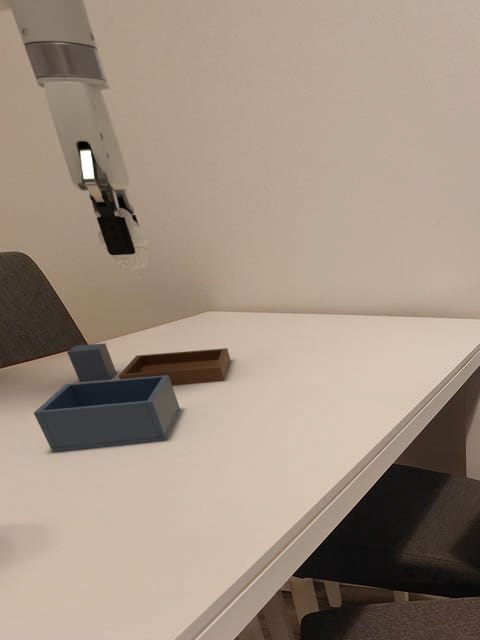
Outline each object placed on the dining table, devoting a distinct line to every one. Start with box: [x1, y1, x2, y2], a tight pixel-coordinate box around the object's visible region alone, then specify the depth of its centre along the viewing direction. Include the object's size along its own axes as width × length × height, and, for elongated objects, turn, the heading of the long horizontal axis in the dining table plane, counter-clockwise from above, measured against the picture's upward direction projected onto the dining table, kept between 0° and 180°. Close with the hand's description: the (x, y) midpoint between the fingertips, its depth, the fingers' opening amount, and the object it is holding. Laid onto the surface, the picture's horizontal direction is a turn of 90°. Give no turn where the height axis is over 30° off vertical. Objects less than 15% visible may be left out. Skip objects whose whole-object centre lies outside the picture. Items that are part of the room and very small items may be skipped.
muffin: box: [97, 208, 150, 270], centre depth 79 cm, size 6×6×7 cm
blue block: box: [67, 343, 117, 383], centre depth 94 cm, size 4×4×4 cm
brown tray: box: [118, 347, 232, 386], centre depth 94 cm, size 15×14×2 cm
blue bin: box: [33, 375, 181, 454], centre depth 72 cm, size 12×12×5 cm
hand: (128, 250), depth 80 cm, fingers closed on muffin, 6 cm apart
